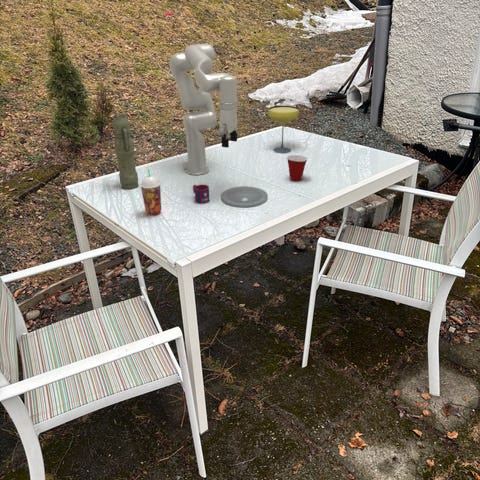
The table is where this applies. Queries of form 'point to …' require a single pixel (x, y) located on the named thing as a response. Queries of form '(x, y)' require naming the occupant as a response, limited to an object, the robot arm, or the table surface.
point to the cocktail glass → (283, 120)
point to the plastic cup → (296, 166)
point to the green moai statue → (125, 153)
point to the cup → (201, 193)
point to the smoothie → (151, 194)
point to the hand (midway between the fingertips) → (229, 144)
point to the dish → (244, 196)
